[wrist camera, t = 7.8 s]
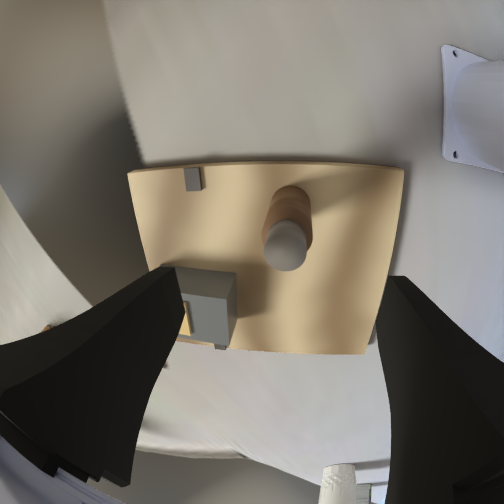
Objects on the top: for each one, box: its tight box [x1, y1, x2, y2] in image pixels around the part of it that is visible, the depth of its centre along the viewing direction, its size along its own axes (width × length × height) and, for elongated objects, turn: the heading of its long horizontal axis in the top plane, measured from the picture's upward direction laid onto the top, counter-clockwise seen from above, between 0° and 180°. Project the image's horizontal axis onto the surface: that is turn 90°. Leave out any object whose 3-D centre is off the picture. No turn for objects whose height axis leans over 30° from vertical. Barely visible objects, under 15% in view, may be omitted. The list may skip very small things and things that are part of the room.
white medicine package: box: [318, 464, 357, 504], centre depth 38 cm, size 8×8×10 cm
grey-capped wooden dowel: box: [261, 186, 313, 271], centre depth 14 cm, size 2×2×6 cm
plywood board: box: [128, 161, 404, 354], centre depth 20 cm, size 18×16×1 cm
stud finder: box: [160, 264, 238, 346], centre depth 20 cm, size 6×4×3 cm
